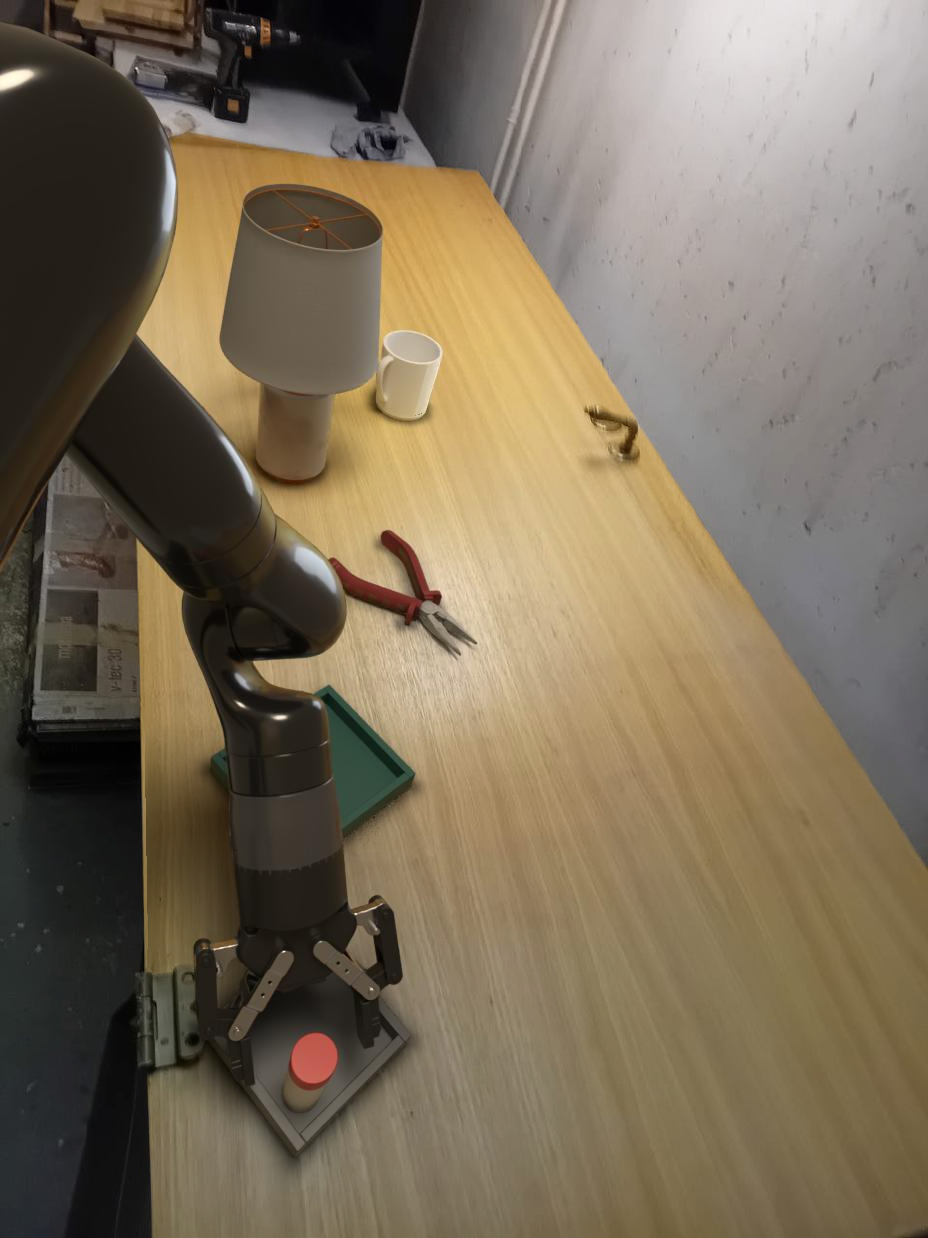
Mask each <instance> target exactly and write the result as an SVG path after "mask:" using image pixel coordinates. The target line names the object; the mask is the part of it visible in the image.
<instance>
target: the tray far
mask: <svg viewBox="0 0 928 1238" xmlns="http://www.w3.org/2000/svg"><path fill="white" fill-rule="evenodd" d="M313 694H314V695H316V696H318V697H319V698H320V699H322V701H323V702H324V704H325V707H326V710H327V715H328V723H329V735H330V745H331V756H332V767H333V777H334V783H335V788H336V792H337V796H338V801H339V807H340V816H341V827H342V839H343V840H344V839H345V837H347V836H348V835H350V833H351V834H352V832H353V831H354V830H356V829H357V828H359V827H360V826H361V825H363V824H364V823H365V822H366V821H368V820H369V819H371V818H372V817H373V816H374V815H376V814H377V813H378V812H379V811H381V810H382V809H383V808H385V807H386V806H387V805H389V804H390V803H392V802H393V801H395V799H396V798H397V797H399V796H400V795H402V794H403V793H404V792H405V791H407V790H408V789H410V788H411V787H412V785H413V782H414V779H415V777H416V775H417V774H416V773H417V772H415V771H414V769H412V767H410V766H409V764H408V763H406V762H405V760H404V759H402V757H401V756H400V755H398V753H397V752H396V751H395V750H394V749H393V748H392V747H391V746H390V745H389V744H388V743H387V741H385V740H384V739H383V738H382V737H381V736H380V735H379V734H378V733H377V732H376V731H375V729H374V728H373V727H371V725H369V723H368V722H367V721H365V719H364V718H362V716H361V715H360V714H359V713H358V712H357V711H356V710H355V709H354V708H353V707H352V706H351V705H350V704H349V703H348V702H347V701H346V700H345V699H344V698H343V697H342V696H341V695H340V694H339V692H338V691H336V690H335V688H333V686H332V685H331V684H328V685H325V686H324V687H323V688H321V689H319V690H318V691H316V692H315V693H313ZM225 751H226V750H225V747H224V748H223V749H220V750H219V751H218V752H216V753H214V754H213V755H211V756H210V769H209V770H210V772H211V773H212V774H213V776H215V778H216V779H217V780H218V782H220V784H221V785H222V786H223V787H224V789H225V790H227V792H228V793H229V781H228V771H227V762H226V752H225Z"/></svg>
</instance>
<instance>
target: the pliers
mask: <svg viewBox="0 0 928 1238" xmlns="http://www.w3.org/2000/svg"><path fill="white" fill-rule="evenodd" d="M380 541H381V542H382V545H383V546H384V547H385V548H386V549H387V550H389V552H391V553H392V554H394V555H395V557H397V558H398V559H399V560H400V561H401V563H402V564H403V566H404V567H405V570H406V573H407V575H408V578H409V581H410V583H411V587H412V589H413V592H414V595H415V596H410V595H408V594H405V593H402V592H399V591H396V590H393V589H390V588H387V587H385V586H382V585H379V584H376V583H373V582H371V581H368V580H365V579H363V578H360V577H359V576H356V575H355V574H353V573H352V572H351V571H349V570H348V569H347V568H346V567H345V566H344V565H343V563H341V562H340V561H339V560H338V559H337V558H336V557H330V558H327V559H328V560H329V562H330V563H331V565H332V566H333V567H334V569H335V571H336V573H337V574H338V576H339V578H340V581H341V583H342V586H343V589H344V592H347V593H349V594H351V595H352V596H354V597H357V598H359V599H361V600H364V601H367V602H370V603H373V604H375V605H378V606H381V607H384V608H387V609H390V610H393V611H396V612H398V613H400V614H404V615H405V619H404V623H405V624H406V625H411V622H412V620H417V619H418V618H419V619H420V621H421V622H422V623H423V625H424V626H425V627H426V628H427V629H428V631H430V633H431V634H433V636H435V637H436V638H437V639H439V640H440V641H441V642H442V643H444V644H445V645H446V646H447V647H448V648H450V649H451V650H452V651H453V652H455V653H456V654H457V655H458V656H459V657H461V656H462V652H461V651H460V649H459V647H458V645H456V643H455V641H454V640H453V638H452V637H451V634H450V633H453V634H454V635H456V636H458V637H460V638H462V639H464V640H466V641H468V642H469V643H471V644H473V645H478V641H477V640H476V639H475V638H474V637H473V636H472V635H471V634H470V633H469V632H468V631H467V629H465V628H464V627H463V626H462V625H461V624H460V622H458V620H456V618H454V617H453V615H451V614H450V613H449V612H448V611H446V610H445V609H443V608H442V607H440V604H441V601H442V598H443V595H442V593H441V591H440V590H437V589H435V590H430V587H429V585H428V582H427V579H426V575H425V573H424V571H423V568H422V565H421V562H420V560H419V557H418V556H417V553H416V552H415V550H414V548H412V546H411V544H409V543H408V542H407V541H405V540H404V539H403V538H402V537H400V536H399V535H398V534H397V533H395V532H394V531H393V530H390V529H385V530H383V531H382V532H381V533H380ZM449 632H450V633H449Z"/></svg>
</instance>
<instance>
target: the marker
mask: <svg viewBox="0 0 928 1238" xmlns="http://www.w3.org/2000/svg"><path fill="white" fill-rule="evenodd" d="M337 1061H338V1052H337V1048H336V1046H335V1044H334V1042H333V1041H332V1040H331V1039H330V1038H329V1037H328V1036H326V1035H324V1034H322V1033H310V1034H307V1035H305V1036H303V1037H302V1038H301V1039H299V1040H298V1042H297V1043H296V1044H295V1046H294V1048H293V1050H292V1053H291V1056H290V1060H289V1067H288V1070H287V1074H286V1077H285V1080H284V1083H283V1086H282V1100H283V1102H284V1104H285V1106H286V1107H287V1108H288V1109H289V1110H291V1111H293V1112H295V1113H304V1112H307V1111H309V1110H310V1109H312V1108H313V1107H314V1106H315V1105H316V1103H317V1102H318V1100H319V1098H320V1096H321V1094H322V1092H323V1090H324V1087H325V1085H326V1083H327V1082H328V1081H329V1080H330V1078H331V1076H332V1074H333V1072H334V1070H335V1068H336V1065H337Z"/></svg>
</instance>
